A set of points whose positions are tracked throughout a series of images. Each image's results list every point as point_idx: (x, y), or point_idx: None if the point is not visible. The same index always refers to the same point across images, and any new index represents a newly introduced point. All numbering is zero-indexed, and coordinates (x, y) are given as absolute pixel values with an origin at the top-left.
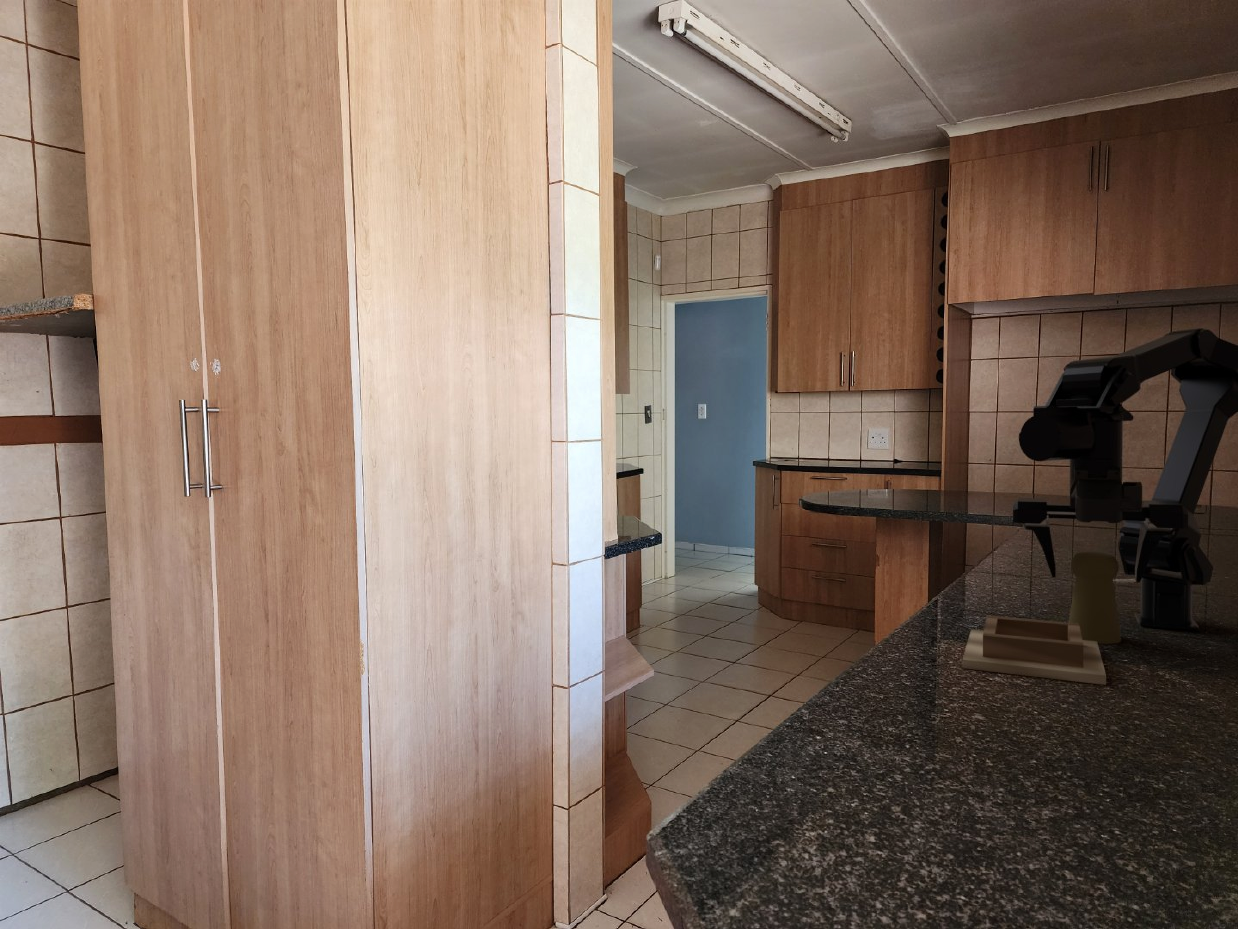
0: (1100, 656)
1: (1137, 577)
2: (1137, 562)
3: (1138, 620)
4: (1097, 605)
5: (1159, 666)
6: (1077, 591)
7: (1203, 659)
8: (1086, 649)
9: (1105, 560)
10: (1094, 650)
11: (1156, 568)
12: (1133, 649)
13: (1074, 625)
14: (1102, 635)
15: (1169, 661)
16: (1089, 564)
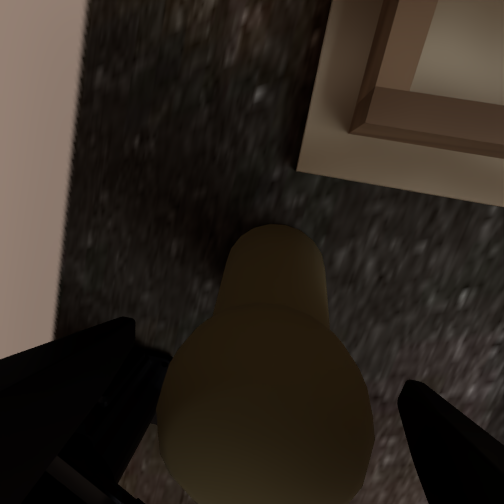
0: (333, 5)
1: (119, 323)
2: (70, 383)
3: None
4: (275, 260)
5: (199, 59)
6: (326, 315)
7: (110, 148)
8: (347, 76)
9: (222, 364)
10: (328, 73)
11: (57, 480)
12: (220, 194)
13: (390, 86)
14: (269, 229)
15: (172, 112)
16: (313, 348)
